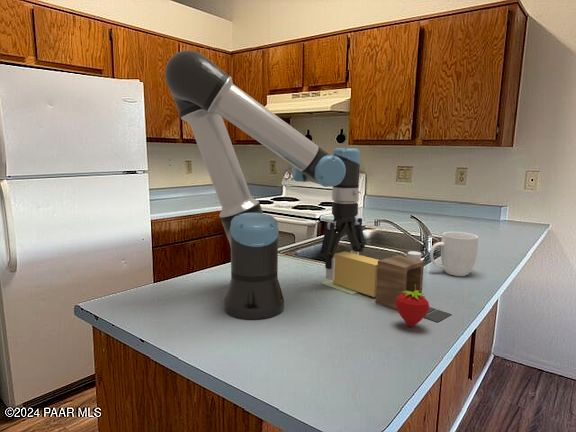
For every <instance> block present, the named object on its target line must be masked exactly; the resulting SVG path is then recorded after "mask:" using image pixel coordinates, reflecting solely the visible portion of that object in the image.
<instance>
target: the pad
mask: <svg viewBox="0 0 576 432" xmlns="http://www.w3.org/2000/svg"><path fill="white" fill-rule="evenodd" d="M320 284H321V285H324V286H327V287H329V288H333V289H335V290H338V291H341V292H344V293H347V294H349V295H356V294H358V293H359V292H357V291H354V290H351V289H349V288H346V287H343V286H340V285H337V284H334V283H333V280H330V279H328V280H326V281H324V282H323V281H322V282H321V283H320Z"/></svg>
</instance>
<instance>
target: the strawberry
mask: <svg viewBox="0 0 576 432" xmlns="http://www.w3.org/2000/svg"><path fill="white" fill-rule="evenodd" d="M418 291H419V290H417V291H416V284H415V291H414V293H413V292H410V291H406V290H405V291H401V292H403V293H406V294H400V295H399V296H398V297H397V298H396V301H395V304H396V308H397V310H396V311H397V312H398V314H399V315H400V317H401V318H402V320H403V321H404V322H405V324H406V325H407V326H408V327H410V328H413V327H415V326H416V325H417V324H419V322H421V321H423V319H425V318H424V317H425V316H426V315H427V312H428V310H429V307H430V304H429V301H428V300H427V298H425V294H423V293H419V292H418Z"/></svg>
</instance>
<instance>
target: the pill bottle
mask: <svg viewBox="0 0 576 432" xmlns="http://www.w3.org/2000/svg"><path fill="white" fill-rule="evenodd" d="M406 257H407V258H412V259H416V260H420V261H423V259H422V252H419V251H415V250H410V251H407V255H406Z"/></svg>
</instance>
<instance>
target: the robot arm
mask: <svg viewBox="0 0 576 432" xmlns="http://www.w3.org/2000/svg"><path fill="white" fill-rule="evenodd" d="M232 78H233V77H232V76H230V75H229V74H228V73H227V72H226V71H224V70H223V69H221V68H220V67H219V66H218V65H216V64H215V63H214V62H213V61H212V60H211V59H209V58H208V57H206V56H205V55H204V54H202V53H201V52H198V51H195V50H181V51H179V52H176V53H175V54H174V55H172V56H171V58H169V59H168V61H167V63H166V66H165V70H164V80H165V83H166V85H167V89H169V93H170V95H171V96H172V98H173V101H174V104H175V106H176V109H177V112H178V114H179V117H180V119H181V120H182V121H184V122H186V123H188V124H189V127H190V128H191V131H192V134H193V137H194V139H195V142H196V144H197V147H198V149H199V152H200V154H201V157H202V159H203V162H204V165H205V167H206V170H207V172H208V174H209V175H208V176H209V178H210V181H211V183H212V186H213V187H214V191H215V194H216V195H217V198H218V201H219V203H220V206H221V210H220V212H219V219H220V221H221V224H222V227H223V229H224V232H225V234H226V237H227V240H228V242H229V245H230V282H229V285H228V287H227V292H226V294H225V297H224V302H223V303H224V307H223V308H224V311H225V312H226V313H227V314H228V315H230V316H232V317H234V318H239V319H244V320H261V319H268V318H272V317H275V316H278V315H279V314H281V313H282V312H283V311H284V309H285V297H284V295H283V291H282V288H281V285H280V282H279V279H278V278H279V277H278V273H279V272H278V267H279V266H278V265H279V262H278V261H279V257H278V256H279V255H278V254H279V251H278V250H279V233H280V232H279V226H278V225H279V224H278V220H277V219H276V218H275V217H274V216H273V215H270V214H266V213H264V212H263V208H262V206H261V204H260V201H259V200H257V198H256V199H255V198H254V197H252V195H251V192H250V190H249V187H248V184H247V181H246V179H245V176H244V173H243V170H242V168H241V165H240V162H239V160H238V157H237V154H236V152H235V148H234V146H233V144H232V141H231V138H230V135H229V132H228V130H227V127H226V123H225V122H224V119H225V120H226V121H228V122H229V123H231V124H232V125H233V126H235V127H236V128H238V129H240V131H243V132H244V134H246V135H248V136H250V137H251V138H252V139H254V140H255V141H257V142H258V143H260V144H261V145H263V146H264V147H265V148H267V149H269V151H271V152H273V153H274V154H276V155H277V156H278V157H280V159H282V160H284V161H286V162H287V163H288V164H290V165H291V178H292V179H293V180H294V182H301V183H305V182H307V183H314V184H317V185H320V186H322V187H326V188H328V187H329V188H330V187H331V188H332V191H331V192H332V193H331V195H332V196H331V200H332V201H333V202H332V203H331V215H333V220H332V221H326V222H325V230H324V234H323V239H322V243H321V246H320V247H321V248H320V253H319V255H320V256H321V257H324V259H325V260H324V261H325V264H324V268H325V279H327V280H334V279H335V258H334V254H336V251H337V248H338V246H339V244H340V241H341V238H343V237H344V235H346V236H347V238H348V241H349V244H350V246H351V249H352V250H350V253H353V254H357V255H361V253H363V252H364V250H365V247H366V244H365V238H364V237H365V236H364V232H363V231H364V230H363V218H361V217H356V216H357V215H358V214H359V203H358V201H359V187H360V186H359V185H360V171H361V170H360V169H361V155H360V154H361V153H360V150H359V149H358V148H353V147H352V148H348V147H344V148H343V147H337V148H334V149H333V153H332V154H329V153H328V152H327V151H326V150H324V149H323V148H321V147H320V146H318V144H316V143H315V142H313V141H312V140H311V139H309V138H308V137H306V136H305V135H304V134H302V133H301V132H299V131H298V130H297V129H296V128H295V127H293V126H291V125H290V124H289V123H287V122H286V121H284V120H283V119H282V118H280V117H279V116H278V115H276V114H275V113H273V111H271V110H269V109H268V108H267V107H265V106H264V105H262V104H261V103H260V102H258V101H257V99H255V98H254V97H252V96H250V94H247V92H245V91H243V90H242V89H241V88H239V87H238V86H237V85H235V84H234V83H233V79H232ZM223 118H224V119H223Z"/></svg>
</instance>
